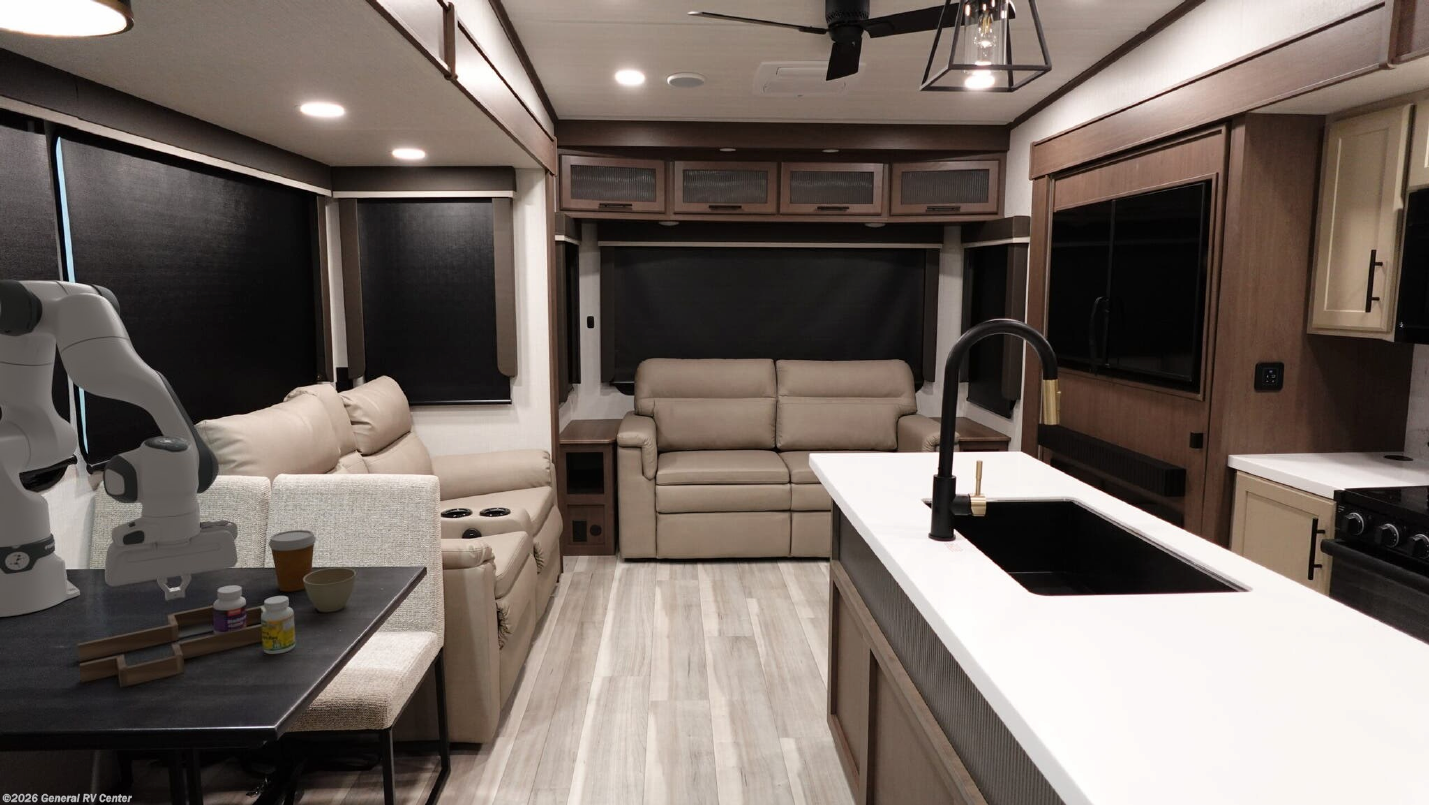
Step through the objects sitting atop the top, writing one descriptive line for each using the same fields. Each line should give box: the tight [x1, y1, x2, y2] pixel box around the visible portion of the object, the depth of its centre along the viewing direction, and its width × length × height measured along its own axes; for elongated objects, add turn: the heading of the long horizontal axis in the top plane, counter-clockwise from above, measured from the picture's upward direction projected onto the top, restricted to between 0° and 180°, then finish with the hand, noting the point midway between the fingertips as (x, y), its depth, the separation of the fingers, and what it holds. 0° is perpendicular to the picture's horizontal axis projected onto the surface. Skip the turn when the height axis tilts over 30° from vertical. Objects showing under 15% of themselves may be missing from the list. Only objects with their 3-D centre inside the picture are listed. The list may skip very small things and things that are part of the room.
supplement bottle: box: [260, 595, 296, 655], centre depth 149 cm, size 5×5×10 cm
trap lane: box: [77, 605, 266, 688], centre depth 149 cm, size 23×30×3 cm
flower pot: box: [303, 567, 357, 613], centre depth 169 cm, size 10×10×7 cm
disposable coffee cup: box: [267, 529, 317, 592], centre depth 180 cm, size 10×10×12 cm
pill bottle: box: [212, 584, 247, 635], centre depth 153 cm, size 5×5×10 cm
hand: (175, 598), depth 148 cm, fingers closed
